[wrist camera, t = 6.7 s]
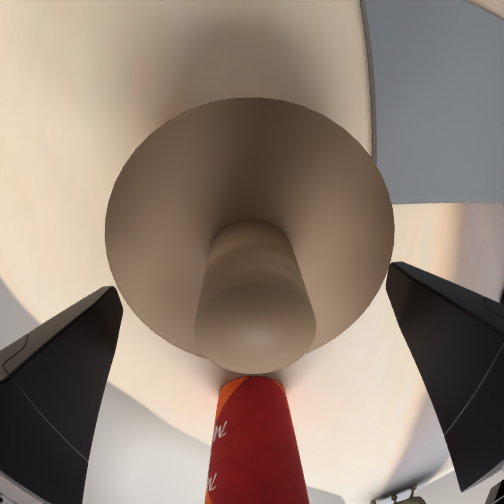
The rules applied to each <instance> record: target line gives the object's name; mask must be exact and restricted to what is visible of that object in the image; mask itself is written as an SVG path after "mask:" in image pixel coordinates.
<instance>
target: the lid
mask: <svg viewBox="0 0 504 504" xmlns="http://www.w3.org/2000/svg"><path fill="white" fill-rule="evenodd" d="M394 228H395V227H394V216H393V208H392V204H391V200H390V196H389V192H388V189H387V187H386V184H385V182H384V179H383V177H382V175H381V173H380V171H379V169H378V168H377V166H376V164H375V163H374V161H373V159H372V158H371V157H370V155H369V154H368V153H367V152H366V150H365V149H364V148H363V147H362V146H361V144H360V143H359V142H358V141H357V140H356V139H355V138H354V137H352V136H351V135H350V134H349V133H348V132H347V131H346V130H345V129H343V128H342V127H341V126H339V125H338V124H336V123H335V122H333V121H331V120H330V119H328V118H327V117H325V116H323V115H321V114H319V113H317V112H315V111H312V110H310V109H308V108H306V107H303V106H300V105H296V104H293V103H289V102H286V101H282V100H274V99H266V98H233V99H227V100H222V101H217V102H211V103H208V104H205V105H202V106H200V107H197V108H194V109H191V110H189V111H187V112H185V113H183V114H181V115H179V116H177V117H175V118H173V119H171V120H169V121H168V122H167V123H165V124H164V125H162V126H161V127H160V128H158V129H157V130H156V131H154V132H153V133H152V134H151V135H150V136H149V137H148V138H147V139H146V140H145V141H144V142H143V143H142V144H141V145H140V146H139V147H138V148H137V149H136V150H135V151H134V153H133V154H132V155H131V157H130V158H129V159H128V161H127V162H126V164H125V165H124V167H123V168H122V170H121V172H120V174H119V176H118V178H117V180H116V182H115V184H114V187H113V190H112V193H111V196H110V199H109V202H108V208H107V213H106V219H105V244H106V253H107V258H108V262H109V266H110V269H111V272H112V275H113V277H114V280H115V282H116V285H117V287H118V289H119V291H120V292H121V294H122V296H123V298H124V299H125V301H126V302H127V304H128V305H129V306H130V308H131V309H132V310H133V312H134V313H135V314H136V315H137V316H138V317H139V318H140V320H141V321H142V322H143V323H144V324H145V325H146V326H148V327H149V328H150V329H151V330H152V331H154V332H155V333H156V334H157V335H158V336H160V337H161V338H163V339H165V340H166V341H168V342H169V343H171V344H172V345H174V346H176V347H178V348H180V349H182V350H184V351H186V352H189V353H192V354H194V355H197V356H199V357H203V358H207V359H209V360H211V361H212V362H213V363H215V364H217V365H218V366H220V367H222V368H225V369H227V370H230V371H234V372H238V373H245V374H262V373H269V372H273V371H276V370H280V369H282V368H285V367H287V366H289V365H291V364H292V363H294V362H295V361H297V360H298V359H300V358H301V357H302V356H303V355H304V354H305V353H308V352H310V351H312V350H314V349H316V348H319V347H321V346H323V345H324V344H326V343H328V342H329V341H331V340H333V339H334V338H336V337H337V336H338V335H340V334H341V333H342V332H344V331H345V330H346V329H347V328H349V327H350V326H351V325H352V324H353V323H354V322H355V321H356V320H357V319H358V318H359V317H360V316H361V315H362V313H363V312H364V311H365V310H366V309H367V307H368V306H369V305H370V303H371V302H372V300H373V299H374V297H375V296H376V294H377V293H378V291H379V289H380V287H381V285H382V283H383V281H384V278H385V276H386V273H387V270H388V267H389V264H390V261H391V256H392V251H393V246H394Z"/></svg>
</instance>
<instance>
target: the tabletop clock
mask: <svg viewBox="0 0 504 504" xmlns="http://www.w3.org/2000/svg"><path fill="white" fill-rule="evenodd" d="M416 488H417V487H416V485H412V486H411V490H412V492H411V495H410V498H409V499H406V500H403V501H400V502H397V501H396V499H397V496H396V495H394V496H392V498H391V499H392V500H393V501H394V504H426V503H425V501H424V500H423V499H422V498H421V497H413V494H414V490H415V489H416ZM370 504H376V501H371V502H370Z"/></svg>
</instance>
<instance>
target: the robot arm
mask: <svg viewBox="0 0 504 504" xmlns="http://www.w3.org/2000/svg"><path fill="white" fill-rule="evenodd" d="M386 291H387V294H388V297H389V300H390V302H391V305H392V308H393V311H394V313H395V316H396V319H397V322H398V325H399V327H400V329H401V332H402V334H403V336H404V338H405V340H406V343H407V345H408V347H409V349H410V351H411V354H412V356H413V358H414V360H415V363H416V365H417V367H418V370H419V372H420V374H421V377H422V379H423V381H424V384H425V386H426V389H427V391H428V394H429V396H430V399H431V401H432V404H433V407H434V409H435V412H436V415H437V417H438V420H439V423H440V426H441V428H442V431H443V434H444V435H445V436H444V438H445V441H446V444H447V447H448V450H449V453H450V456H451V459H452V462H453V466H454V469H455V472H456V476H457V480H458V483H459V487H460V490H461V492H464V491H466V490H468V489H470V488H472V487H473V486H475V485H477V484H479V483H480V482H482V481H484V480H486V479H487V478H489V477H491V476H492V475H493V474H495V473H497V472H498V471H500V470H501V469H503V471H504V297H503V299H502V302H501V304H500V303H498V302H496V301H494V300H491V299H489V298H487V297H485V296H482V295H480V294H478V293H475V292H473V291H471V290H469V289H466V288H464V287H462V286H459V285H457V284H455V283H452V282H450V281H448V280H445V279H443V278H441V277H438V276H436V275H433V274H431V273H429V272H426V271H424V270H421V269H419V268H416V267H414V266H412V265H409V264H407V263H404V262H392V263H391V264H390V265H389V268H388V274H387V280H386ZM122 316H123V307H122V304H121V301H120V298H119V295H118V293H117V290H116V288H115V287H114V286H104V287H102V288H100V289H98V290H97V291H95V292H93V293H92V294H90V295H88V296H87V297H85V298H83V299H82V300H80V301H78V302H77V303H75V304H74V305H72V306H70V307H69V308H67V309H65V310H64V311H62V312H61V313H59V314H57V315H56V316H54V317H53V318H51V319H49V320H48V321H46V322H45V323H43V324H42V325H40V326H39V327H37V328H35V329H34V330H33V331H31V332H30V333H29V334H26V335H25V336H23V337H21V338H20V339H18V340H17V341H15V342H14V343H12V344H10V345H9V346H7V347H5V348H4V349H2V350H1V351H0V504H82V500H83V493H84V486H85V479H86V473H87V468H88V462H87V461H88V460H89V456H90V451H91V446H92V441H93V436H94V431H95V427H96V422H97V418H98V413H99V409H100V405H101V401H102V397H103V393H104V390H105V385H106V382H107V378H108V375H109V371H110V368H111V364H112V361H113V357H114V354H115V350H116V345H117V340H118V335H119V330H120V325H121V320H122ZM485 504H504V480H502V481H501V482H499V483H498V484H497V485H495V486H494V487H492V488H491V490H490V492H489V495H488V498H487V500H486V503H485Z"/></svg>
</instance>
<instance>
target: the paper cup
mask: <svg viewBox="0 0 504 504" xmlns="http://www.w3.org/2000/svg"><path fill="white" fill-rule="evenodd" d="M205 504H310V503H309V499H308V494H307V489H306V484H305V479H304V475H303V470H302V465H301V460H300V455H299V451H298V446H297V441H296V437H295V432H294V428H293V423H292V418H291V414H290V409H289V405H288V401H287V397H286V393H285V390H284V388H283V387H282V385H281V384H280V383H278V382H277V381H275V380H273V379H270V378H266V377H261V376H246V377H241V378H237V379H234V380H232V381H230V382H228V383H226V384H225V385H224V386H223V387H222V389H221V391H220V394H219V399H218V404H217V411H216V418H215V425H214V432H213V440H212V447H211V455H210V464H209V471H208V480H207V488H206V496H205Z"/></svg>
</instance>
